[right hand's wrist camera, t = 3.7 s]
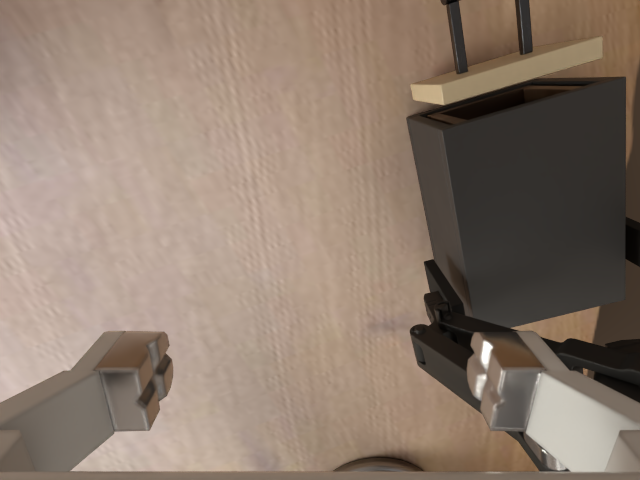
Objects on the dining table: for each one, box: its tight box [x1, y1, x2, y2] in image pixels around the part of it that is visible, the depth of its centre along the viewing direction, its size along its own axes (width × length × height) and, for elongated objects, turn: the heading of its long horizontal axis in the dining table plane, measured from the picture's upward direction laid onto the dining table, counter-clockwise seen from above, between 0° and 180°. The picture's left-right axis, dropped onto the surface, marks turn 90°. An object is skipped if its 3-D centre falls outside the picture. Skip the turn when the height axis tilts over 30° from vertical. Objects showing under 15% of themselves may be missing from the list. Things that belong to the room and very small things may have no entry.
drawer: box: [411, 0, 603, 125], centre depth 27 cm, size 20×9×8 cm, turn 16°
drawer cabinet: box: [406, 77, 626, 328], centre depth 30 cm, size 15×10×9 cm
